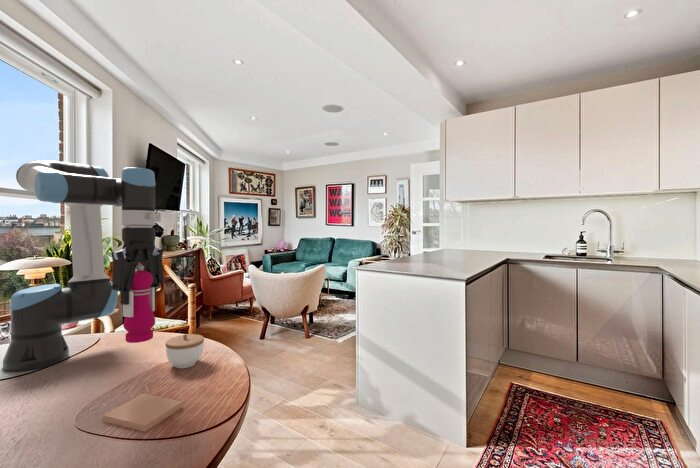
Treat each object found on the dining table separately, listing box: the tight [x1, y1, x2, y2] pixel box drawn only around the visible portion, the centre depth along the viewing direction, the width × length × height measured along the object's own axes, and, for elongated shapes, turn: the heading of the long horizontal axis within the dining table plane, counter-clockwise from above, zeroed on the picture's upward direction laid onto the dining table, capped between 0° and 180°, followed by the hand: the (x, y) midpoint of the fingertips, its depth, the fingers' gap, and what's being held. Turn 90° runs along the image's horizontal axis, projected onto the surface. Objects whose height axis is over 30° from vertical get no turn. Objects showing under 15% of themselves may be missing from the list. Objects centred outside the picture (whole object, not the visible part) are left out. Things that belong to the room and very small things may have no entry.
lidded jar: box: [165, 333, 205, 369], centre depth 104 cm, size 11×11×9 cm
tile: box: [102, 393, 183, 433], centre depth 77 cm, size 2×10×12 cm
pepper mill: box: [123, 264, 156, 344], centre depth 90 cm, size 7×7×20 cm
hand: (139, 313), depth 90 cm, fingers closed on pepper mill, 6 cm apart
